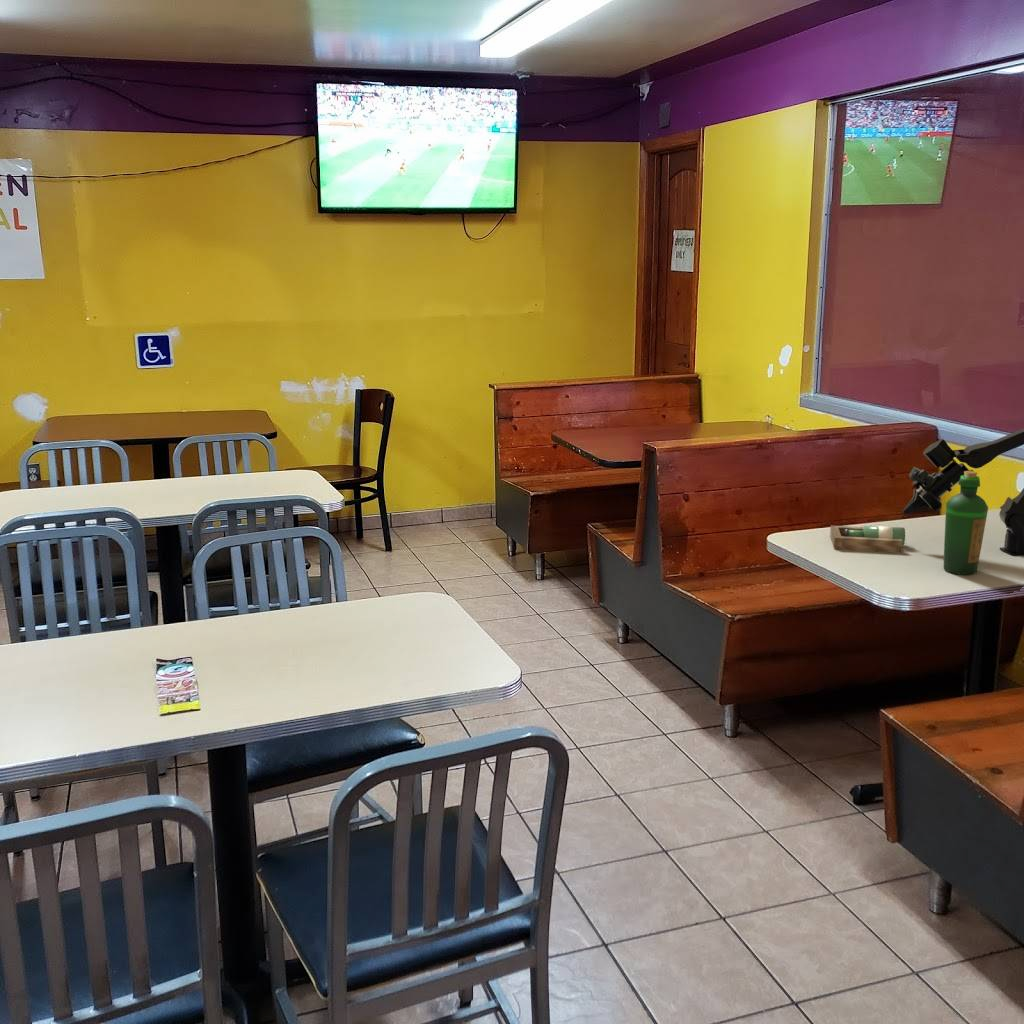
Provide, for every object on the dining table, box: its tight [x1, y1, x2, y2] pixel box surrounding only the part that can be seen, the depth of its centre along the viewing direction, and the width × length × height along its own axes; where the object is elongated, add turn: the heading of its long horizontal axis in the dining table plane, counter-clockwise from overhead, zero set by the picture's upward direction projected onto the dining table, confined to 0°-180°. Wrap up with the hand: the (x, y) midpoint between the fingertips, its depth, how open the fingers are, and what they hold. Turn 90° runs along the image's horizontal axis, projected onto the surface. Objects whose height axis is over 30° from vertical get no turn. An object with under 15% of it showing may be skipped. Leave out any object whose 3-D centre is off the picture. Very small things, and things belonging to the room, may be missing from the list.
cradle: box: [829, 525, 903, 554], centre depth 309 cm, size 19×14×4 cm
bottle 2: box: [943, 470, 989, 576], centre depth 280 cm, size 11×11×28 cm
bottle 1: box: [844, 525, 906, 546], centre depth 308 cm, size 6×6×17 cm
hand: (903, 513), depth 305 cm, fingers closed
